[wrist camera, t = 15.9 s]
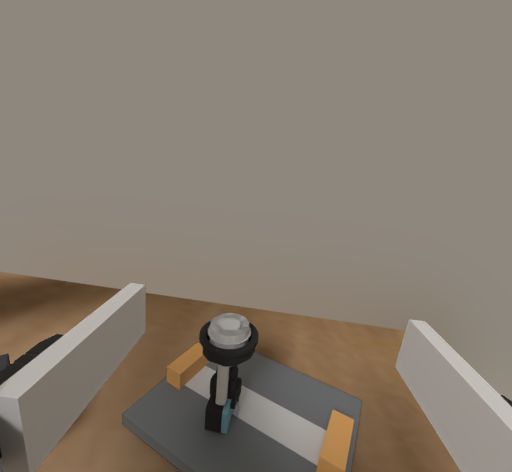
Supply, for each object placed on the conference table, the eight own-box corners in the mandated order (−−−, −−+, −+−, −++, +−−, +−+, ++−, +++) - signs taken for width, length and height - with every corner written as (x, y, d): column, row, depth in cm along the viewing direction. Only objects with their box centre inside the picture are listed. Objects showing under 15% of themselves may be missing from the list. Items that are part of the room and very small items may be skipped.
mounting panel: (122, 423, 25) (121, 396, 24) (216, 342, 38) (218, 322, 37) (330, 593, 16) (339, 558, 15) (359, 409, 29) (365, 386, 28)
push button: (211, 375, 30) (215, 298, 27) (256, 384, 29) (264, 306, 26) (187, 431, 23) (190, 337, 21) (244, 444, 23) (254, 348, 20)
